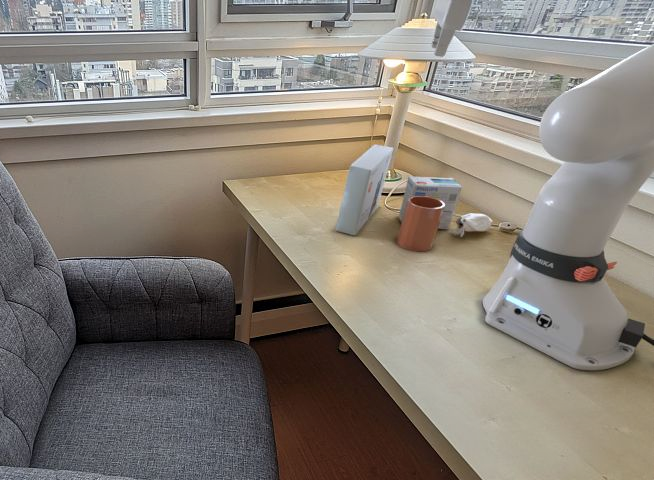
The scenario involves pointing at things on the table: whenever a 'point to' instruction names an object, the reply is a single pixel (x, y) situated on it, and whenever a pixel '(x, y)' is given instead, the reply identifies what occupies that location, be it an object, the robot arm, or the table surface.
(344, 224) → the skincare box
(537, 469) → the table surface
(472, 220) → the bird figurine
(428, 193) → the light bulb box
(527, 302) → the robot arm
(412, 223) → the pen cup
